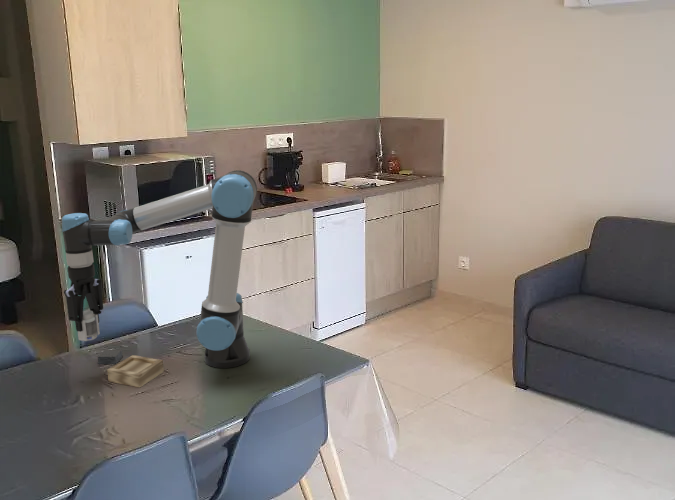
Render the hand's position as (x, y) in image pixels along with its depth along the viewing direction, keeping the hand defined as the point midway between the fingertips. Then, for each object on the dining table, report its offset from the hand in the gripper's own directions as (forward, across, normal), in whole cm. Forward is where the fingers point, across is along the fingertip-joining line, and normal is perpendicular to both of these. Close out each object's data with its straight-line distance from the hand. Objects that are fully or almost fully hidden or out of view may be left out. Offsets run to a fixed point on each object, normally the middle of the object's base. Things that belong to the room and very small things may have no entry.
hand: (89, 336), depth 200 cm
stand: (+14, -6, +12) cm, 19 cm away
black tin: (+14, -13, -5) cm, 20 cm away
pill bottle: (+1, 0, 0) cm, 1 cm away
